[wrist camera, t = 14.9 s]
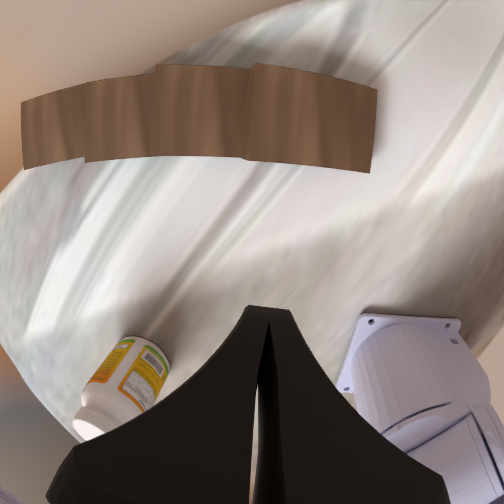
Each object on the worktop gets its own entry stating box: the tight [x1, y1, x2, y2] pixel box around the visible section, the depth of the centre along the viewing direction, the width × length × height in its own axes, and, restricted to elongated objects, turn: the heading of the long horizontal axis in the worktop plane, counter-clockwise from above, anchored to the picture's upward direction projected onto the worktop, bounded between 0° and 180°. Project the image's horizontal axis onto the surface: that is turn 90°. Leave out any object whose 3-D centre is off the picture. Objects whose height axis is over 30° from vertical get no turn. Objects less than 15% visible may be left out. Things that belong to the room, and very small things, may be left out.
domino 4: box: [242, 63, 377, 173], centre depth 14 cm, size 2×5×7 cm
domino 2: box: [84, 74, 155, 163], centre depth 15 cm, size 2×5×7 cm
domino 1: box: [21, 79, 105, 170], centre depth 16 cm, size 2×5×7 cm
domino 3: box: [150, 65, 250, 158], centre depth 15 cm, size 2×5×7 cm
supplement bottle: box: [72, 336, 169, 441], centre depth 20 cm, size 5×5×10 cm
